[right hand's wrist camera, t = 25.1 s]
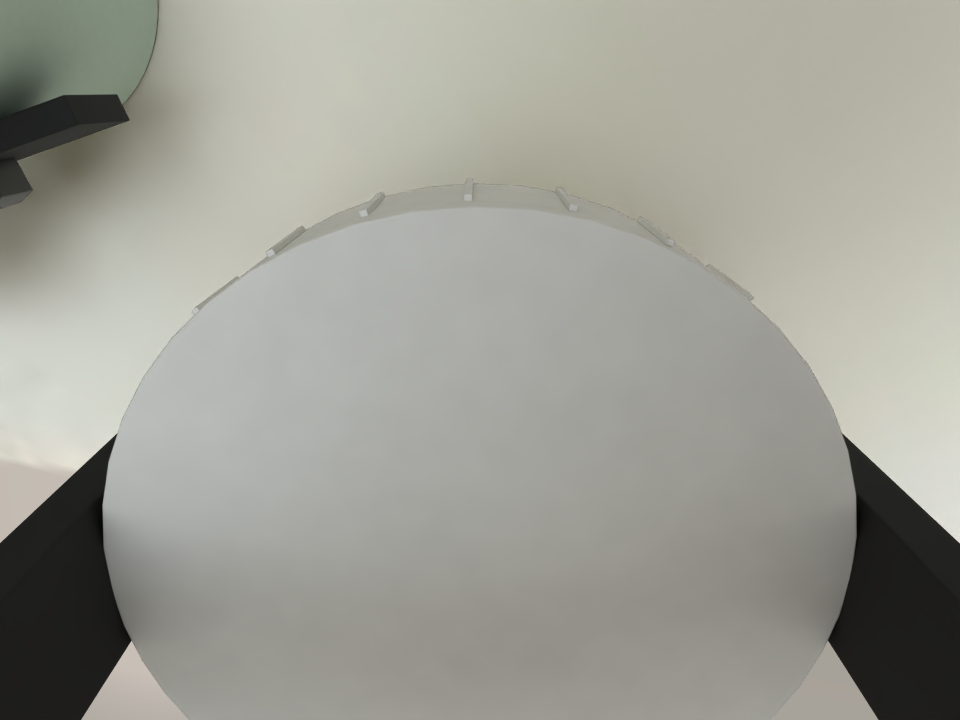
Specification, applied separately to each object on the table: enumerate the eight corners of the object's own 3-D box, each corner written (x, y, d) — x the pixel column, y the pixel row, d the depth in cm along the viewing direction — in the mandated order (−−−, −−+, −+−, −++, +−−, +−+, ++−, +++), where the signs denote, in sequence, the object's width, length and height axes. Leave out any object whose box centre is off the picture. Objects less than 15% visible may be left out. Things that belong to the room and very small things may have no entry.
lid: (789, 693, 15) (845, 801, 12) (258, 751, 15) (220, 864, 13) (802, 126, 10) (890, 135, 8) (70, 238, 11) (-34, 275, 9)
